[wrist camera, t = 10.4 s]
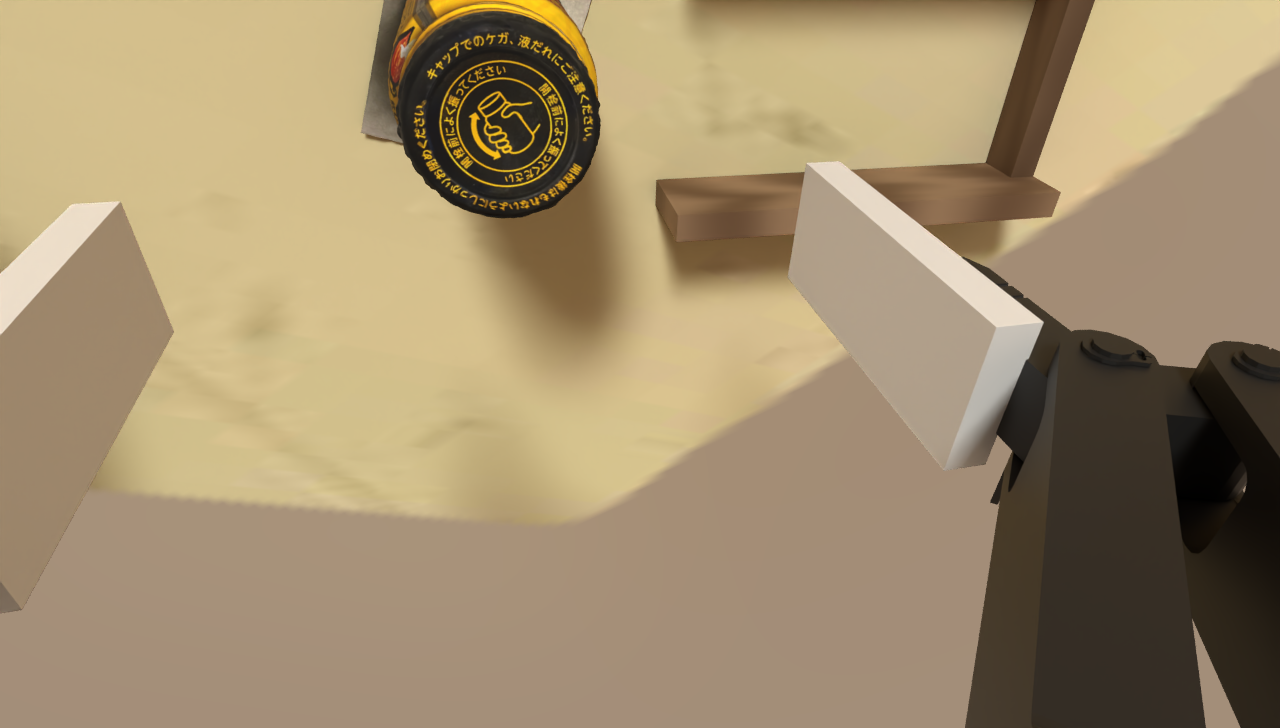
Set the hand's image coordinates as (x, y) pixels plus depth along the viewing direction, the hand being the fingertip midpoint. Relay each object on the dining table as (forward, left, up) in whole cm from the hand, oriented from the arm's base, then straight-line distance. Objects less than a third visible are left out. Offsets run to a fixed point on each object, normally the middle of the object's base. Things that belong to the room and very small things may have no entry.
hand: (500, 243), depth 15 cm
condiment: (0, 0, -17) cm, 17 cm away
